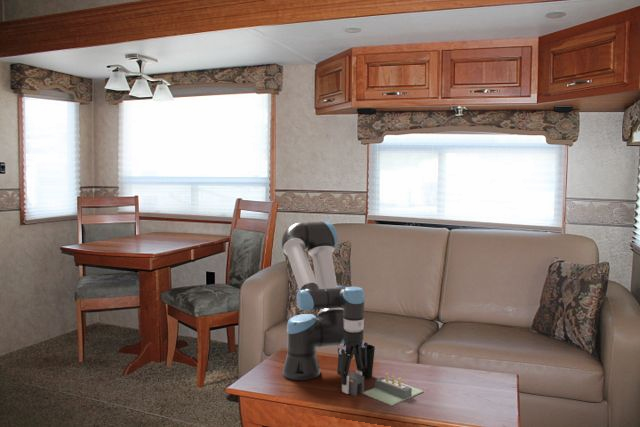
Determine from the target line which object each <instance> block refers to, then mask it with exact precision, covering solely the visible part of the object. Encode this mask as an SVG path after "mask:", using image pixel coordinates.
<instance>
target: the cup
mask: <svg viewBox="0 0 640 427" xmlns="http://www.w3.org/2000/svg"><path fill="white" fill-rule="evenodd" d="M375 349H376V347H375V345H372V344H369V343H368V345H367V368H365V372H363V376H364V380H370V379H372V378H373V369H374V360H375V359H374V358H375ZM356 370H358V369H357V368H356Z"/></svg>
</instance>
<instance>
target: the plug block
mask: <svg viewBox="0 0 640 427" xmlns="http://www.w3.org/2000/svg"><path fill="white" fill-rule="evenodd" d="M347 376H349V394H350V395H351V396H355V397H356V396H357V395H358V393H360V394H362V393H363V392H365V379H364V376H362V375H359V374H357V373H356V372H353V371H352V370H351V371H350V370H349V371H348V375H347ZM340 379H341V381H340V383H341V382H342V376H341V378H340ZM340 386H341V391H342V383H341V385H340Z"/></svg>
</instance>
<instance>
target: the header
mask: <svg viewBox="0 0 640 427" xmlns="http://www.w3.org/2000/svg"><path fill="white" fill-rule="evenodd" d="M395 378H396V377H395V375H391V379H389V373H388V372H387V373H386V372H385V377H382V376H381V377H380V378H377V379H375V380H374V381H375V382H374V384H375V386H374V387H373V388H371V389H367V390H364V392H363V393H361V394H362V395H366V396H368V397H370V398H372V399H375V400H377V401H380V402H381V403H385V404H387V405H388V406H395V405H396V404H399V403H402V402H404V401H406V400H408V399H411V398H412V397H415V396H417V395H420V394H422V393H424V390H421V389H420V388H416V387H413V386H411V385H408V384H406V383H403V382H402V378H401V377H398V379H397V380H396V379H395Z"/></svg>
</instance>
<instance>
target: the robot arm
mask: <svg viewBox="0 0 640 427" xmlns="http://www.w3.org/2000/svg"><path fill="white" fill-rule="evenodd" d="M337 245H338V233H337V230H336V226H334V224H333V223H331V222H329V221H311V222H310V221H307V222H304V221H303V222H302V221H300V222H296V223H293V224H291V225H290V226H288V227H287V228H286V230H285V231H284V233H283V234H282V239H281V249H282V251H283V253H284V254H285V255H286V256H287V258H288V262H289V265H290V267H291V269H292V270H291V271H292V273H293V276H294V278H295V282H296V285H297V287H298V291H297V293H296V297H295V298H296V305H297V308H298V309H299V310H300V311H312V310H314V311H315V310H319V311H318V313H317V316H316V315H315V314H312V313H302V314H297V315H293V316H292V317H290V318H289V319H288V321H287V323H286V324H287V326H286V357H285V361H284V365H283V367H282V376H283V377H285V378H287V379H289V380H292V381H293V380H294V381H308V380H309V381H310V380H314V379H316V378H319V376H320V375H321V367H320V363H319V360H318V356H317V348H320V347H321V348H322V347H323V348H324V347H333V346H340V345H341V346H342V347H341V348H340V347H338V349H337V353H338V358H337V359H338V360H337V371H336V374H337V375H338V376H342V382H341V381H340V383H342V390H341V392H342V393H345V394H347V395H348V394H349V376H347V375H348V372H350V368H351V367H350V366H351V362H352V359H353V358H354V360H355V366H356V369H355V373H357V374H359V375H362V376H363V372H365V368H367V345H368V344H369V343H368V342H365V341H364V332H365V331H364V324H365V323H364V322H365V320H364V319H365V318H364V316H365V299H366V298H365V297H366V296H365V290H364V289H363V288H362V287H359V286H345V285H338V282H337V278H336V277H337V276H336V271H335V265H334V258H333V253H334V252H335V248H336V247H337ZM306 250H307V253H306ZM307 254H308V255H309V256H310V257H311V258H312V263H313V269H312V266H311V264H310V260H309V257H308V255H307ZM313 270H314V271H313ZM357 369H358V370H357Z"/></svg>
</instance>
